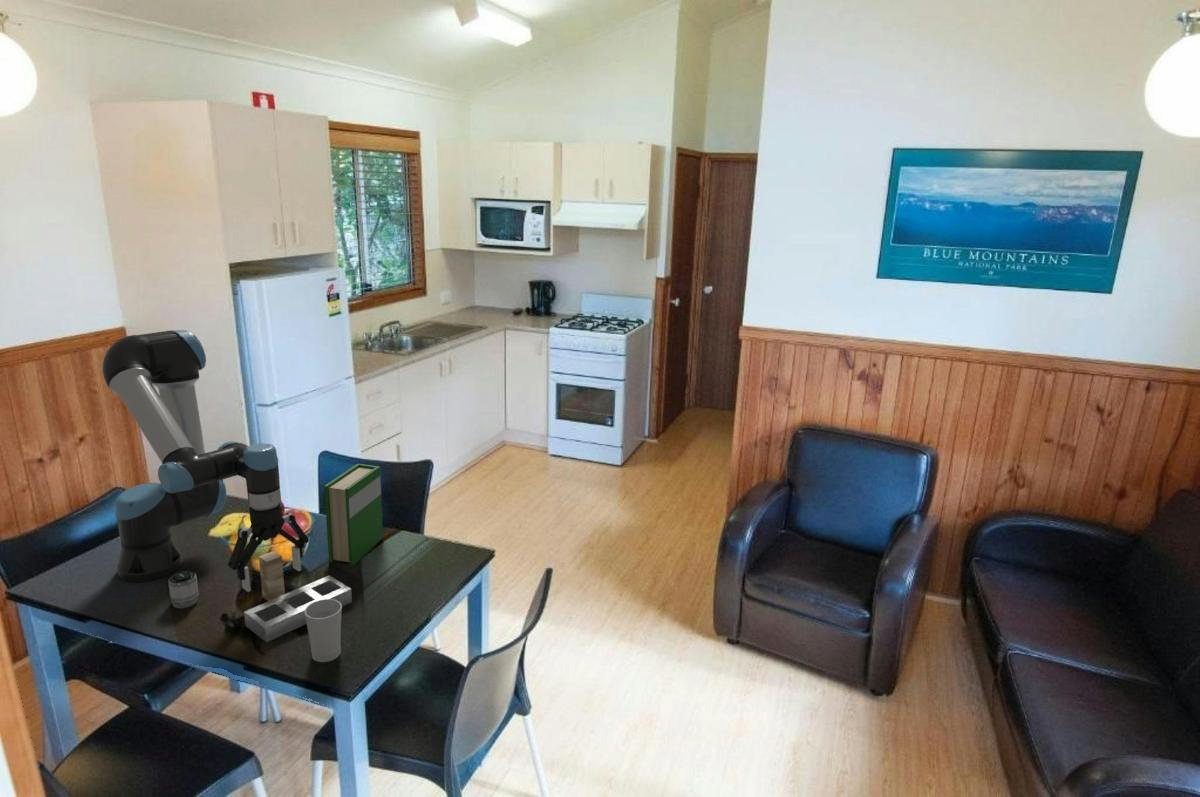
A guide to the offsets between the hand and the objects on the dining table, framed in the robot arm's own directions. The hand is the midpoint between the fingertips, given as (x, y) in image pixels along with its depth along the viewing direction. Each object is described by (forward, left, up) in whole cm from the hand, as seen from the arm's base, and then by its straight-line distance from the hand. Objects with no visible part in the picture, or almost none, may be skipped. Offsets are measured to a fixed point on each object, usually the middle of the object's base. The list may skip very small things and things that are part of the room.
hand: (272, 579), depth 183 cm
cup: (+31, -4, -6) cm, 32 cm away
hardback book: (-6, +29, -6) cm, 30 cm away
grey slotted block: (+12, 0, -5) cm, 13 cm away
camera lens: (-14, -16, -6) cm, 22 cm away
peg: (0, 0, -5) cm, 5 cm away
